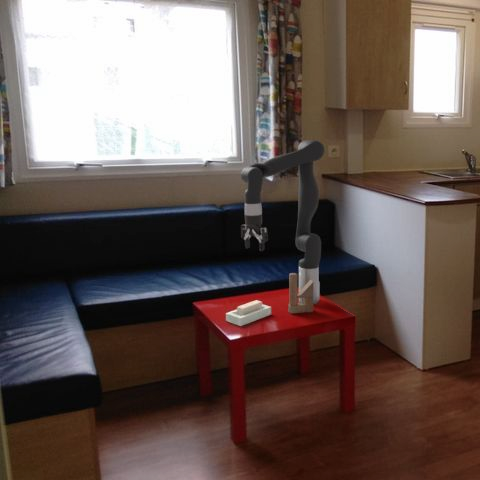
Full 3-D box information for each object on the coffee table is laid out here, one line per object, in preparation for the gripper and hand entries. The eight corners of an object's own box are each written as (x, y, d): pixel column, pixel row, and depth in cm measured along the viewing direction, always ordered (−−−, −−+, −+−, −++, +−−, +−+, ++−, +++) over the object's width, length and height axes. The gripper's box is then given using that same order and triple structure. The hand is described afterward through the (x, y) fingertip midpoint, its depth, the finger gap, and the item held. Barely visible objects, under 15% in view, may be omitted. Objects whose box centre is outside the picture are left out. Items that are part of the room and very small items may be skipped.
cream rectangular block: (256, 310, 239) (256, 300, 238) (262, 312, 237) (262, 301, 236) (237, 317, 231) (237, 306, 230) (242, 319, 229) (242, 308, 227)
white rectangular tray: (256, 309, 243) (256, 302, 242) (271, 314, 237) (271, 306, 236) (226, 320, 230) (225, 313, 230) (240, 326, 224) (240, 318, 223)
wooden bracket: (313, 312, 239) (313, 273, 235) (290, 314, 237) (290, 275, 233) (310, 309, 242) (310, 271, 238) (288, 311, 240) (287, 273, 236)
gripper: (271, 213, 228) (272, 250, 232) (247, 210, 238) (249, 245, 242) (259, 216, 223) (260, 253, 227) (235, 212, 233) (237, 248, 237)
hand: (254, 249), depth 234 cm, fingers open, 8 cm apart
